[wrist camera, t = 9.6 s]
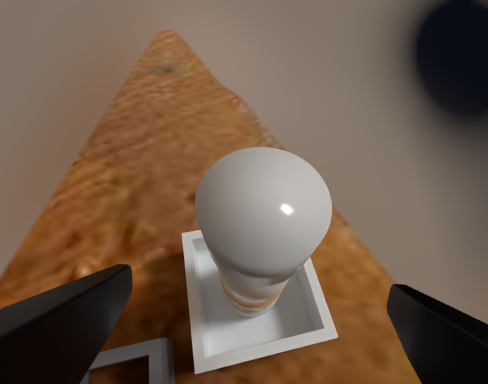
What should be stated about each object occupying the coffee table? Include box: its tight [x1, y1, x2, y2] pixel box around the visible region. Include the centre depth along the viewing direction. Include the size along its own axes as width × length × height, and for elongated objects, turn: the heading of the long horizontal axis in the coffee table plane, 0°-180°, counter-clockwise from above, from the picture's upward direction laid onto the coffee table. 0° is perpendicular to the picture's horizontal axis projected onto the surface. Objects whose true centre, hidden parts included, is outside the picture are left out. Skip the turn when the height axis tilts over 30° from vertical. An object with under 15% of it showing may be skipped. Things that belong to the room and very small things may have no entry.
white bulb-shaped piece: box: [195, 147, 332, 318], centre depth 13 cm, size 4×4×13 cm
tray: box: [182, 230, 338, 374], centre depth 18 cm, size 8×8×4 cm
